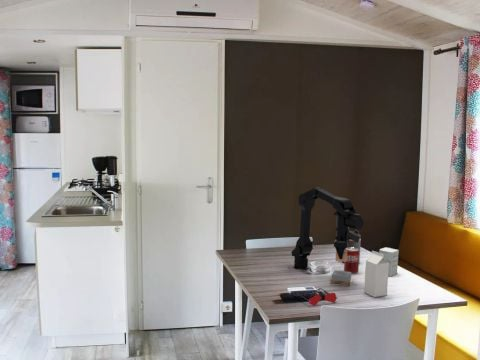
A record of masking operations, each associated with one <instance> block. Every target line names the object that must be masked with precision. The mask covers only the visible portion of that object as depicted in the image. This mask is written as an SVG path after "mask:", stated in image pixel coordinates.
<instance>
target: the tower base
mask: <svg viewBox="0 0 480 360" xmlns="http://www.w3.org/2000/svg"><path fill="white" fill-rule="evenodd" d="M331 279H332V276H331ZM331 279H330V285H337V286H347V287H348V286H349V287H350V286H351V283H352V281H351V280H352V277H351V278H350V280H349V282H344V281H336V280H331Z"/></svg>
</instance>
